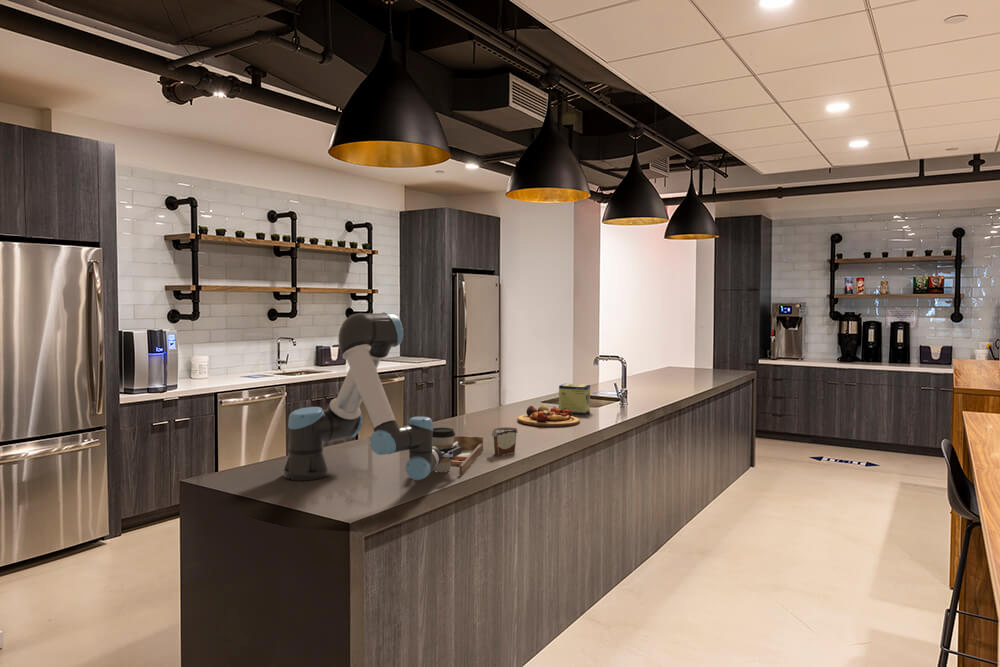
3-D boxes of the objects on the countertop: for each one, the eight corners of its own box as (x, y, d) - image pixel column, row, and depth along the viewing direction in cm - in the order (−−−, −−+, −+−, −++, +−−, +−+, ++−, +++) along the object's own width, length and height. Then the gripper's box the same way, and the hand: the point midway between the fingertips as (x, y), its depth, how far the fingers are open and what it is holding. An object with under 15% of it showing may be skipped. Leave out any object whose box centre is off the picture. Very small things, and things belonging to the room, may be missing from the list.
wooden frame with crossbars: (413, 473, 244) (413, 456, 244) (440, 449, 283) (440, 434, 283) (462, 475, 241) (462, 459, 241) (483, 451, 280) (483, 436, 280)
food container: (506, 449, 284) (507, 425, 283) (517, 452, 279) (517, 428, 279) (485, 454, 275) (485, 429, 275) (495, 456, 271) (496, 431, 270)
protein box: (585, 415, 370) (586, 386, 369) (558, 413, 376) (558, 385, 375) (590, 412, 380) (590, 384, 379) (563, 410, 386) (563, 383, 385)
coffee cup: (460, 470, 249) (460, 429, 248) (440, 475, 241) (440, 433, 241) (442, 465, 255) (442, 426, 255) (422, 470, 248) (422, 429, 247)
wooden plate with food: (560, 430, 327) (560, 413, 327) (505, 422, 345) (505, 406, 345) (590, 422, 354) (590, 406, 354) (537, 415, 372) (538, 400, 371)
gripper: (398, 468, 232) (416, 453, 254) (459, 471, 229) (473, 456, 251) (398, 446, 232) (416, 433, 254) (459, 449, 228) (473, 435, 251)
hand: (444, 444), depth 252 cm, fingers closed on coffee cup, 9 cm apart
